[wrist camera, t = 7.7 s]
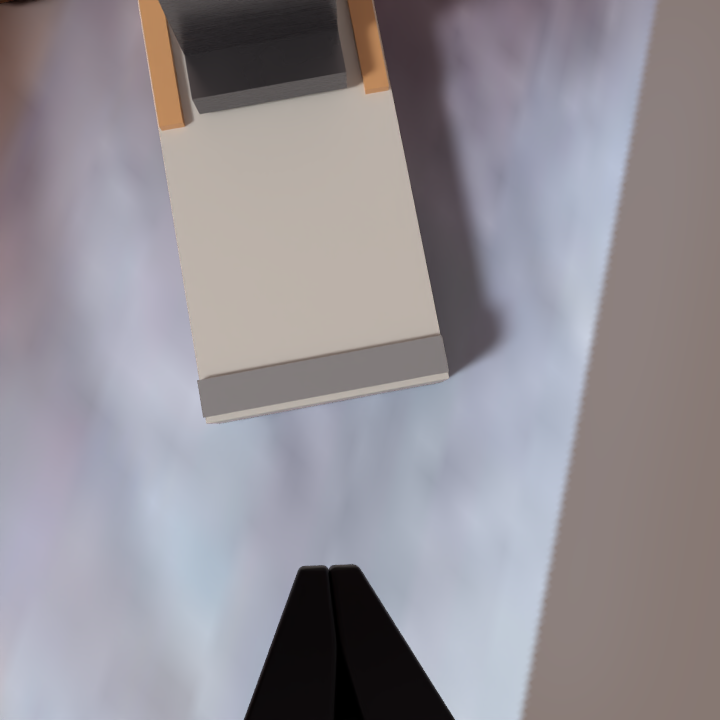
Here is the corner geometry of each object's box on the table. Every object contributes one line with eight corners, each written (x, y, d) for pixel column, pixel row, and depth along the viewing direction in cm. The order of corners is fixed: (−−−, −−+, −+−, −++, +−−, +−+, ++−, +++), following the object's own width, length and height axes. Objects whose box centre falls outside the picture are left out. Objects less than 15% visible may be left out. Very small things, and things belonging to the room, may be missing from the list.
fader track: (441, 382, 23) (450, 377, 21) (219, 423, 23) (204, 423, 21) (349, -80, 25) (348, -131, 23) (142, -44, 25) (120, -92, 22)
